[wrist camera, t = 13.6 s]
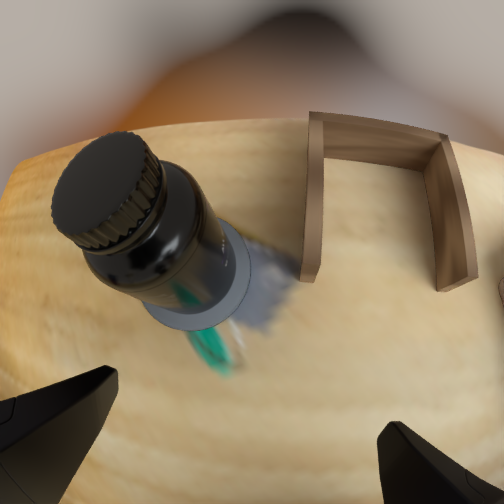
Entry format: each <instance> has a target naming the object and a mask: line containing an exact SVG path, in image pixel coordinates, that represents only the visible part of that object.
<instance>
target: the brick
mask: <svg viewBox="0 0 504 504" xmlns="http://www.w3.org/2000/svg"><path fill="white" fill-rule="evenodd" d="M499 293H500V295H501V298H502V301H503V306H504V278H503V279H502V280H501V281H500V283H499Z"/></svg>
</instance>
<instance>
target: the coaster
mask: <svg viewBox="0 0 504 504" xmlns="http://www.w3.org/2000/svg"><path fill="white" fill-rule="evenodd" d="M217 219H218V221H219V222H220V224H221V226H222V228H223V230H224V232H225V233H226V235H227V237H228V239H229V241H230V243H231V245H232V247H233V250H234V253H235V257H236V274H235V278H234V281H233V284H232V286H231V288H230V290H229V292H228V293H227V295H226V296H225V297H224V298H223V299H222V300H221V301H220V302H219V303H218V304H217V305H216V306H214V307H213V308H211V309H209V310H207V311H205V312H202V313H198V314H192V315H185V314H178V313H175V312H172V311H168V310H166V309H163V308H160V307H158V306H155V305H152V304H150V303H147V302H145V301H142V302H143V304H144V306H145V308H146V309H147V310H148V312H149V313H150V314H151V315H152V316H153V317H154V318H155V319H156V320H158V321H159V322H160V323H162V324H164V325H166V326H168V327H171V328H174V329H178V330H183V331H199V330H204V329H208V328H210V327H213V326H215V325H217V324H219V323H221V322H222V321H224V320H225V319H227V318H228V317H229V316H230V315H231V314H232V313H233V312H234V311H235V310H236V309H237V307H238V306H239V305H240V303H241V302H242V300H243V298H244V296H245V294H246V292H247V289H248V286H249V282H250V275H251V264H250V258H249V253H248V250H247V248H246V246H245V243H244V241H243V239H242V238H241V236H240V235H239V233H238V232H237V231H236V230H235V229H234V228H233V227H232V226H231V225H230V224H228V223H227V222H225V221H224V220H222V219H220V218H217Z"/></svg>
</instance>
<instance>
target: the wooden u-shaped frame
mask: <svg viewBox="0 0 504 504" xmlns="http://www.w3.org/2000/svg"><path fill="white" fill-rule="evenodd" d="M324 158H333V159H342V160H351V161H359V162H367V163H374V164H381V165H387V166H394V167H400V168H405V169H411V170H416V171H421V172H423V175H424V180H425V185H426V190H427V196H428V201H429V208H430V214H431V221H432V229H433V238H434V248H435V261H436V279H437V291H438V292H448V291H450V290H452V289H454V288H457V287H459V286H461V285H463V284H465V283H468V282H470V281H472V280H474V279H476V278H478V267H477V257H476V249H475V241H474V235H473V229H472V223H471V218H470V213H469V208H468V203H467V199H466V194H465V190H464V186H463V183H462V179H461V175H460V172H459V168H458V165H457V162H456V159H455V155H454V152H453V149H452V146H451V144H450V141H449V138H448V135H445V134H441V133H438V132H434V131H430V130H426V129H422V128H418V127H414V126H409V125H404V124H400V123H394V122H389V121H383V120H377V119H372V118H364V117H358V116H351V115H343V114H334V113H323V112H309V133H308V157H307V183H306V202H305V219H304V234H303V247H302V260H301V271H300V282H310V283H314V281H315V278H316V275H317V273H318V270H319V268H320V265H321V249H322V228H323V189H324Z"/></svg>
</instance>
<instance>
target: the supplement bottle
mask: <svg viewBox="0 0 504 504" xmlns="http://www.w3.org/2000/svg"><path fill="white" fill-rule="evenodd" d="M51 209H52V213H51V216H52V218H53V223H54V225H55V226H56V227H57V229H58V231H59V232H61V233H62V234H64V235H65V236H66V237H67V238H69V239H71V240H72V241H73V242H74V243H75V244H76V245H77V246H78V247H80V248H81V249H82V251H83V255H84V258H85V260H86V263H87V265H88V267H89V268H90V270H91V271H92V273H93V274H94V275H95V276H96V277H97V278H98V279H99V280H100V281H101V282H103V283H104V284H106V285H108V286H109V287H111V288H113V289H115V290H118V291H120V292H122V293H125V294H127V295H130V296H132V297H135V298H137V299H140V300H142V301H145V302H147V303H150V304H152V305H155V306H158V307H160V308H163V309H166V310H168V311H172V312H175V313H178V314H185V315H192V314H198V313H202V312H205V311H207V310H209V309H211V308H213V307H214V306H216V305H217V304H218V303H219V302H220V301H221V300H222V299H223V298H224V297H225V296H226V295H227V293H228V292H229V290H230V288H231V286H232V284H233V281H234V278H235V274H236V257H235V253H234V250H233V247H232V245H231V243H230V241H229V239H228V237H227V235H226V233H225V232H224V230H223V228H222V226H221V224H220V222H219V221H218V219H217V217H216V215H215V213H214V211H213V210H212V208H211V206H210V204H209V202H208V200H207V199H206V197H205V195H204V193H203V191H202V189H201V188H200V186H199V185H198V183H197V181H196V180H195V179H194V177H193V176H192V175H191V174H190V173H189V172H188V171H187V170H185V169H184V168H182V167H181V166H179V165H177V164H174V163H171V162H168V161H164V160H159V159H158V158H157V157H156V156H155V155H154V154H153V153H152V151H151V150H150V148H149V147H148V145H147V144H146V142H145V141H143V140H142V138H141V137H140V136H139V135H135V134H134V133H133V132H127V131H123V132H119V131H117V132H114V133H108V134H107V135H105V136H101V137H99V138H98V139H96V140H94V141H92V142H91V143H90V144H89V145H87V146H86V147H84V148H83V149H82V150H81V151H80V152H79V153H78V154H76V156H75V157H74V158H73V159H72V160H71V161H70V162H69V164H68V166H67V167H66V168H65V170H64V171H63V173H62V175H61V177H60V178H59V180H58V183H57V185H56V187H55V189H54V195H53V197H52V205H51Z"/></svg>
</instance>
